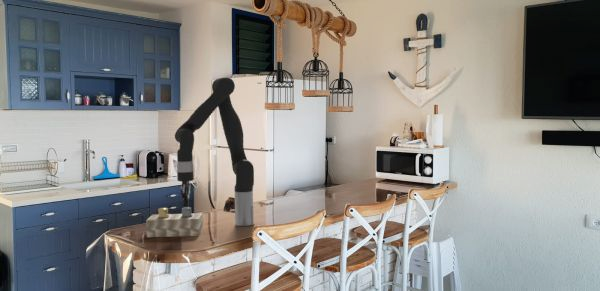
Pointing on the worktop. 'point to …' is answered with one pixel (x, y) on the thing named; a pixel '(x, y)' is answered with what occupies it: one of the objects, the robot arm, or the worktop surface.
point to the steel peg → (186, 212)
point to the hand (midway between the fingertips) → (186, 206)
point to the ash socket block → (174, 225)
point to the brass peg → (163, 212)
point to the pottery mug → (229, 204)
